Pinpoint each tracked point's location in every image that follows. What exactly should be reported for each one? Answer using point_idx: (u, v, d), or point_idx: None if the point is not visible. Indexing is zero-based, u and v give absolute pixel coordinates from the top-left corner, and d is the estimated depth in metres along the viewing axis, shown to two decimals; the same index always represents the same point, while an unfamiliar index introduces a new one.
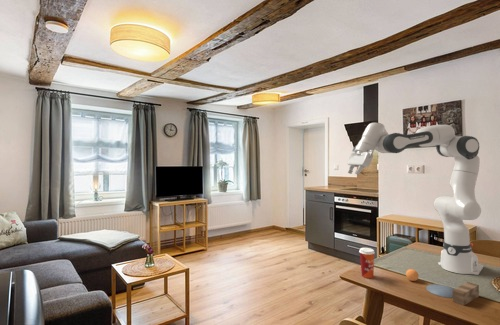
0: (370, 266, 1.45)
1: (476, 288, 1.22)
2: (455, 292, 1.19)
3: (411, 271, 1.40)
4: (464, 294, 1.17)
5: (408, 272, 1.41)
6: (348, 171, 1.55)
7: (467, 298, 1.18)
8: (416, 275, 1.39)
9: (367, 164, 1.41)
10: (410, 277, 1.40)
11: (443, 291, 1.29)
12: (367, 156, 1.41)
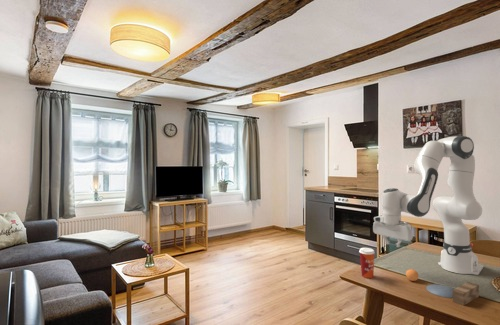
0: (370, 266, 1.45)
1: (476, 288, 1.22)
2: (455, 292, 1.19)
3: (411, 271, 1.40)
4: (464, 294, 1.17)
5: (408, 272, 1.41)
6: (385, 243, 1.52)
7: (467, 298, 1.18)
8: (416, 275, 1.39)
9: (411, 238, 1.42)
10: (410, 277, 1.40)
11: (443, 291, 1.29)
12: (408, 231, 1.41)
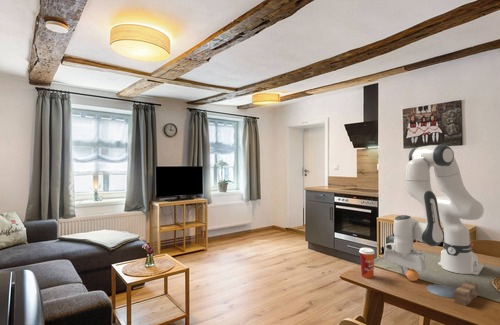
0: (370, 266, 1.45)
1: (475, 287, 1.23)
2: (457, 293, 1.18)
3: (411, 271, 1.40)
4: (466, 294, 1.17)
5: (408, 272, 1.41)
6: (401, 273, 1.45)
7: (468, 298, 1.18)
8: (416, 275, 1.39)
9: (424, 269, 1.37)
10: (410, 277, 1.40)
11: (443, 291, 1.29)
12: (421, 261, 1.36)
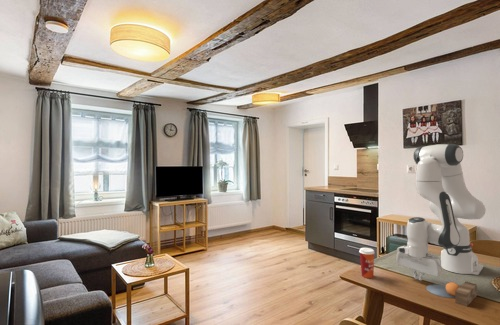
0: (370, 266, 1.45)
1: (475, 287, 1.23)
2: (458, 293, 1.18)
3: (452, 285, 1.24)
4: (467, 295, 1.16)
5: (449, 286, 1.25)
6: (415, 277, 1.39)
7: (469, 298, 1.18)
8: None
9: (440, 273, 1.31)
10: (452, 292, 1.23)
11: (443, 291, 1.29)
12: (437, 266, 1.30)
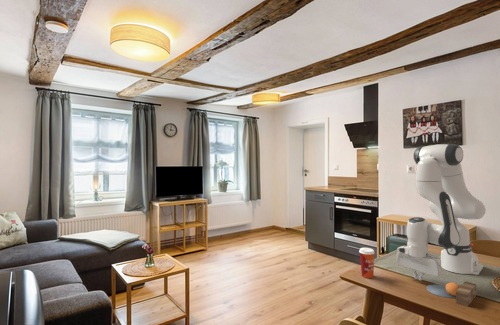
0: (370, 266, 1.45)
1: (474, 287, 1.23)
2: (458, 293, 1.18)
3: (452, 285, 1.24)
4: (468, 295, 1.16)
5: (449, 286, 1.25)
6: (415, 277, 1.39)
7: (469, 298, 1.18)
8: None
9: (440, 273, 1.31)
10: (452, 292, 1.23)
11: (443, 291, 1.29)
12: (437, 266, 1.30)
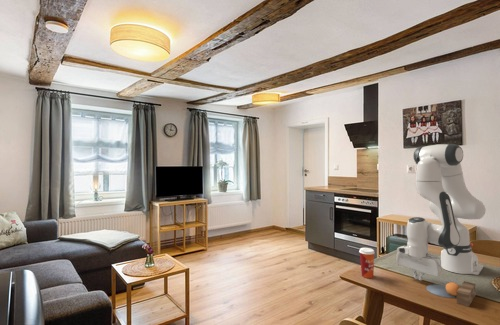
0: (370, 266, 1.45)
1: (474, 287, 1.23)
2: (459, 293, 1.18)
3: (452, 285, 1.24)
4: (468, 295, 1.16)
5: (449, 286, 1.25)
6: (415, 277, 1.39)
7: (470, 298, 1.18)
8: None
9: (440, 273, 1.31)
10: (452, 292, 1.23)
11: (443, 291, 1.29)
12: (437, 266, 1.30)
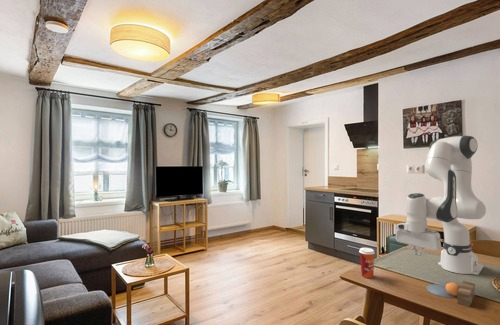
0: (370, 266, 1.45)
1: (473, 287, 1.23)
2: (460, 294, 1.18)
3: (452, 285, 1.24)
4: (469, 295, 1.16)
5: (449, 286, 1.25)
6: (414, 253, 1.39)
7: (470, 299, 1.18)
8: None
9: (440, 247, 1.31)
10: (452, 292, 1.23)
11: (443, 291, 1.29)
12: (437, 240, 1.30)
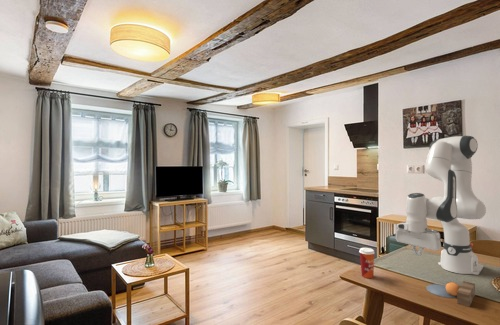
0: (370, 266, 1.45)
1: (473, 287, 1.23)
2: (460, 294, 1.18)
3: (452, 285, 1.24)
4: (469, 295, 1.16)
5: (449, 286, 1.25)
6: (414, 253, 1.39)
7: (470, 299, 1.18)
8: None
9: (440, 247, 1.31)
10: (452, 292, 1.23)
11: (443, 291, 1.29)
12: (437, 240, 1.30)
